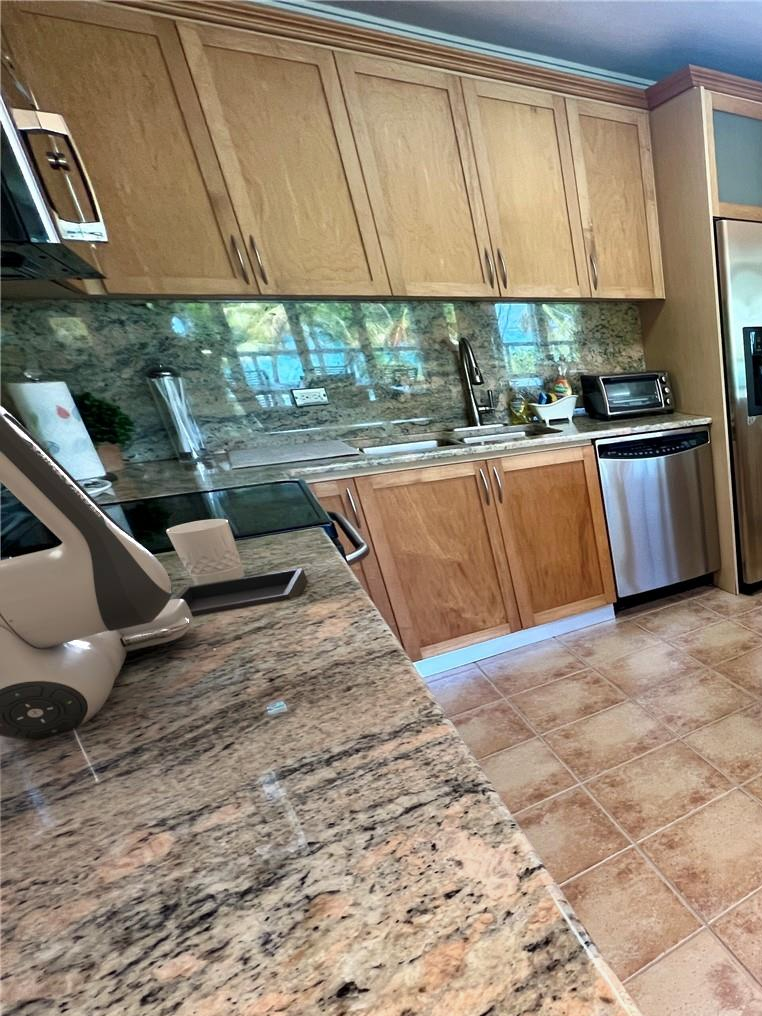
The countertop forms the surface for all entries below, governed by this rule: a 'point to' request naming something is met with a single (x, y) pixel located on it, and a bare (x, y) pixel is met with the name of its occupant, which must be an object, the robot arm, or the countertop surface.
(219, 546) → the white cup
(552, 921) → the countertop surface
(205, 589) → the tray
